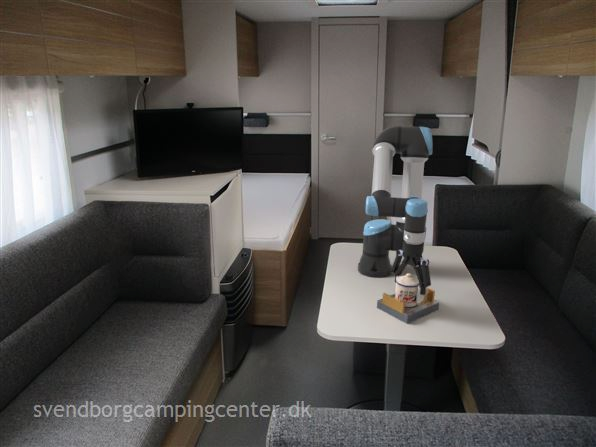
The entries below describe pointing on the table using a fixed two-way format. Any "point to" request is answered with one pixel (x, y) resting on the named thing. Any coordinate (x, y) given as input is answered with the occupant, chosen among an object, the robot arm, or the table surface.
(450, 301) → the table surface
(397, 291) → the teacup with lid
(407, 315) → the grey tray
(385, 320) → the table surface
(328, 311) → the table surface
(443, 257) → the table surface
